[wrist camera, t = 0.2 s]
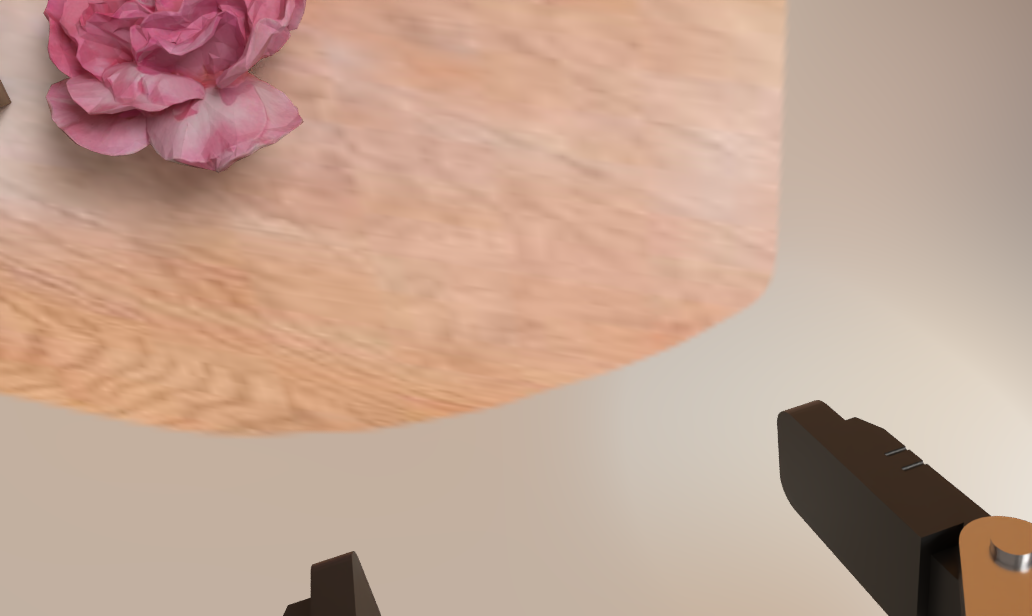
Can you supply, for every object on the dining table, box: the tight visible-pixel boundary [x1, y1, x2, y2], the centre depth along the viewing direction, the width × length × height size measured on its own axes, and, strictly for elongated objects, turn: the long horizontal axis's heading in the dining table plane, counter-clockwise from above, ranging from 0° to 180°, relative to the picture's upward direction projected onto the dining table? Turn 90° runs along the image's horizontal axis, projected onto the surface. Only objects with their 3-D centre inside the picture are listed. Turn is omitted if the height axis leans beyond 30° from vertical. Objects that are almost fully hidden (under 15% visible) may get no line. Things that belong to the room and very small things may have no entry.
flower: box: [44, 0, 306, 173], centre depth 32 cm, size 11×10×10 cm
